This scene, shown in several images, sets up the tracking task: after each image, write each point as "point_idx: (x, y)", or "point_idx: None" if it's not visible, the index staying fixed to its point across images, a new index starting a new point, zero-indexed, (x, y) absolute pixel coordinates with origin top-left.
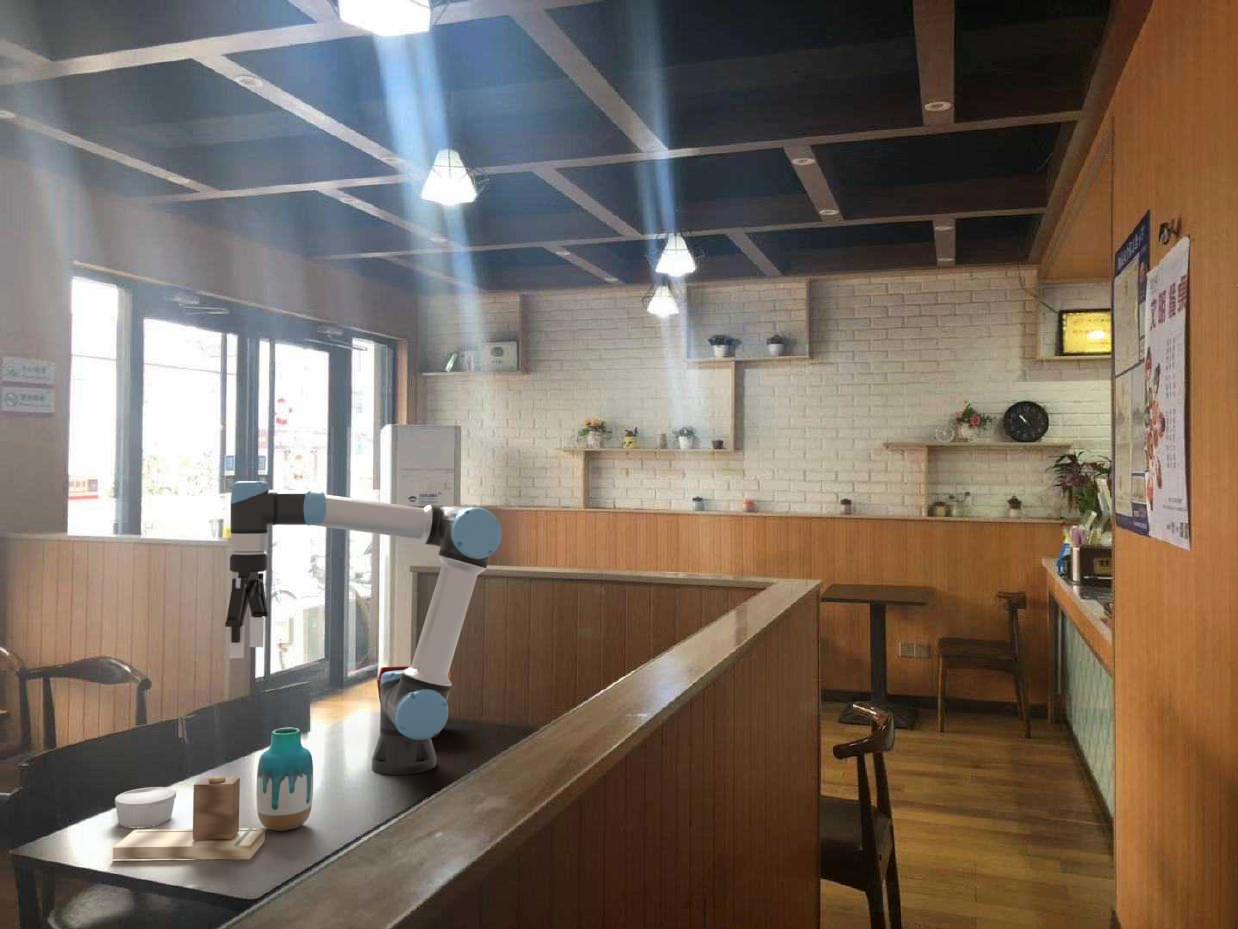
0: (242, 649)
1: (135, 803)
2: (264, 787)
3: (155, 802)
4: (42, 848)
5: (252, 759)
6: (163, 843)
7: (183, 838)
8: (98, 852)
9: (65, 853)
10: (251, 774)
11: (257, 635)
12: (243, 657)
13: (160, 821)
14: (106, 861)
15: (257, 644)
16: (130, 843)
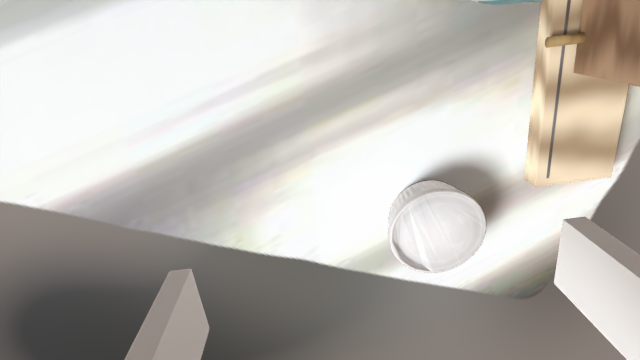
0: (625, 248)
1: (483, 227)
2: None
3: (475, 201)
4: (527, 279)
5: (63, 201)
6: (609, 111)
7: (591, 90)
8: (554, 207)
9: (550, 244)
10: (158, 160)
11: (178, 351)
12: (574, 219)
13: (448, 184)
14: None
15: (193, 304)
16: (599, 161)
